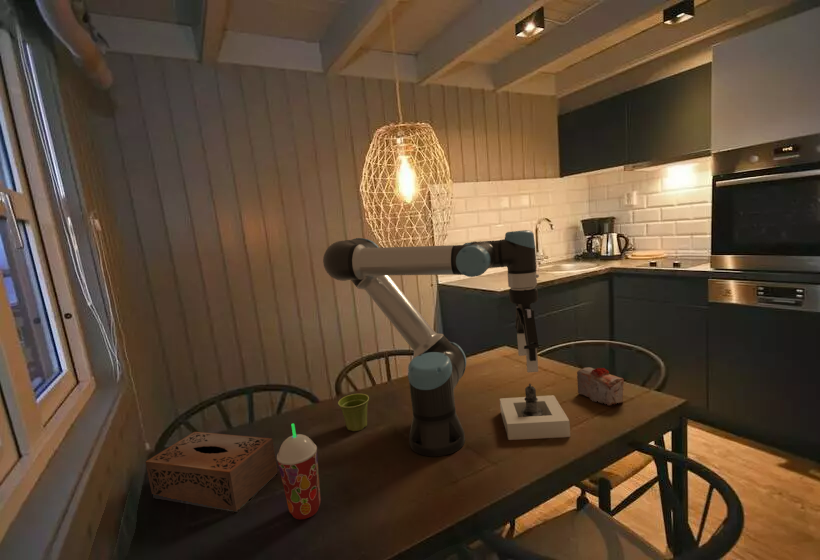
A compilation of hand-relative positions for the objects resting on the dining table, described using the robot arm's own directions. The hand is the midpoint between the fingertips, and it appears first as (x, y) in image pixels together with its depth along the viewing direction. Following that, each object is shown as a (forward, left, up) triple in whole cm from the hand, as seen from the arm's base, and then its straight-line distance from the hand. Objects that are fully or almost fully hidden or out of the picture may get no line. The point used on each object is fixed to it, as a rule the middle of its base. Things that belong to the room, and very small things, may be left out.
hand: (527, 363), depth 113 cm
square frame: (0, 0, -18) cm, 18 cm away
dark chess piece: (0, 0, -18) cm, 18 cm away
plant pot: (-52, +4, -18) cm, 55 cm away
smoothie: (-55, -33, -18) cm, 66 cm away
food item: (+23, +13, -18) cm, 33 cm away
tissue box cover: (-81, -23, -18) cm, 87 cm away
